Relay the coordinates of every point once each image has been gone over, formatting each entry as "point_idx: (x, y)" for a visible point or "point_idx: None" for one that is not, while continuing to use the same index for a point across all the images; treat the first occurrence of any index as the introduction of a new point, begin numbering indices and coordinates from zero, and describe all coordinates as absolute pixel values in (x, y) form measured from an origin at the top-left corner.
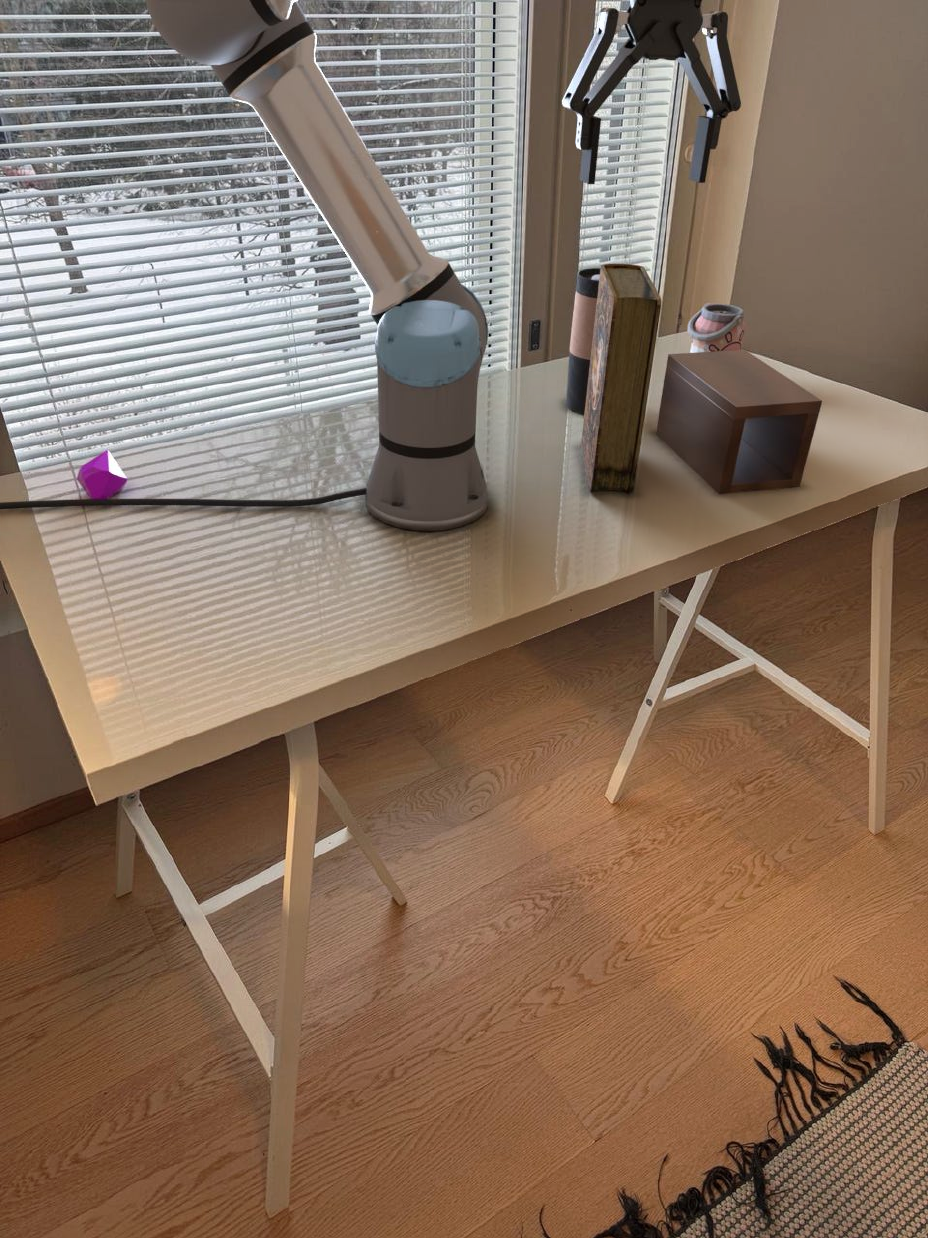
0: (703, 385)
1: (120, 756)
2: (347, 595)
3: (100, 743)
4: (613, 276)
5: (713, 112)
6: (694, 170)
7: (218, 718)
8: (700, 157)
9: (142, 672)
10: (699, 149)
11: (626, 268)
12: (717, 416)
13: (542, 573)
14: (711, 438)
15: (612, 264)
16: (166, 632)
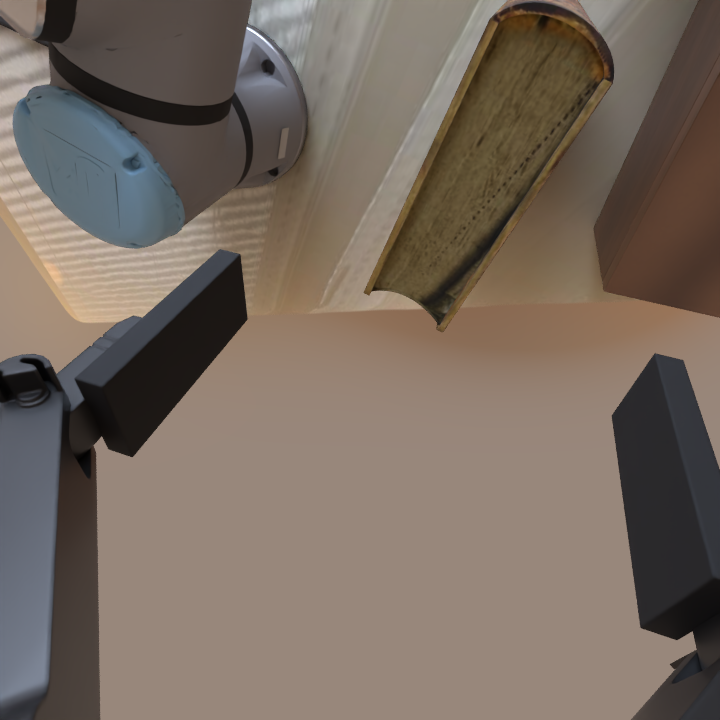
0: (659, 179)
1: (82, 321)
2: (169, 243)
3: (70, 309)
4: (473, 122)
5: (684, 660)
6: (639, 406)
7: (117, 318)
8: (630, 467)
9: (66, 267)
10: (643, 478)
11: (577, 39)
12: (622, 230)
13: (317, 280)
14: (620, 210)
15: (537, 13)
16: (64, 235)
